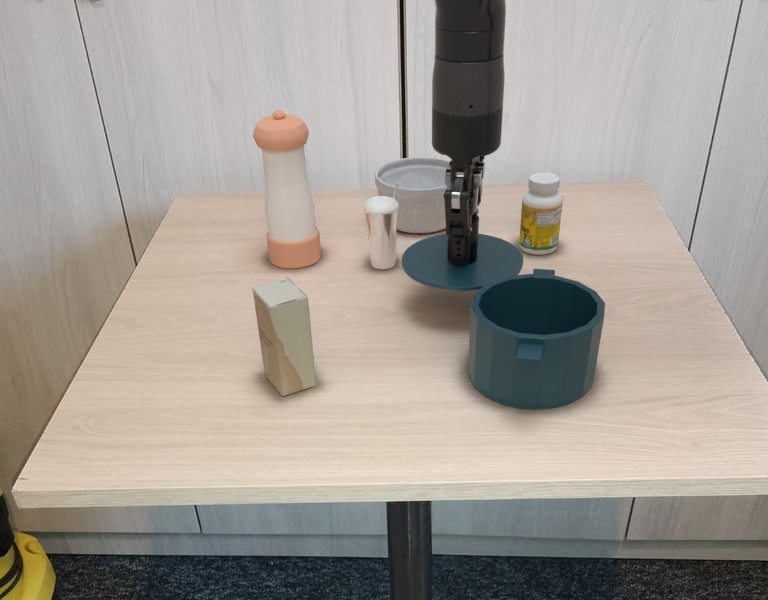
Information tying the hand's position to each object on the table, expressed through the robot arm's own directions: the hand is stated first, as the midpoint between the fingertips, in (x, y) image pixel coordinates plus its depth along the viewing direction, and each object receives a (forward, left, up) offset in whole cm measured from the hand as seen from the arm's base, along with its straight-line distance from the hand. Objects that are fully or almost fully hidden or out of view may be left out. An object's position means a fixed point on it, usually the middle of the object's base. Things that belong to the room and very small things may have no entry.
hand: (462, 255), depth 97 cm
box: (+16, +20, -7) cm, 27 cm away
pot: (-10, +14, -7) cm, 18 cm away
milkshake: (+12, -10, -7) cm, 17 cm away
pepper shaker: (+25, -10, -7) cm, 28 cm away
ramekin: (+10, -25, -7) cm, 28 cm away
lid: (0, 0, -1) cm, 1 cm away
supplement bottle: (-8, -18, -7) cm, 21 cm away
